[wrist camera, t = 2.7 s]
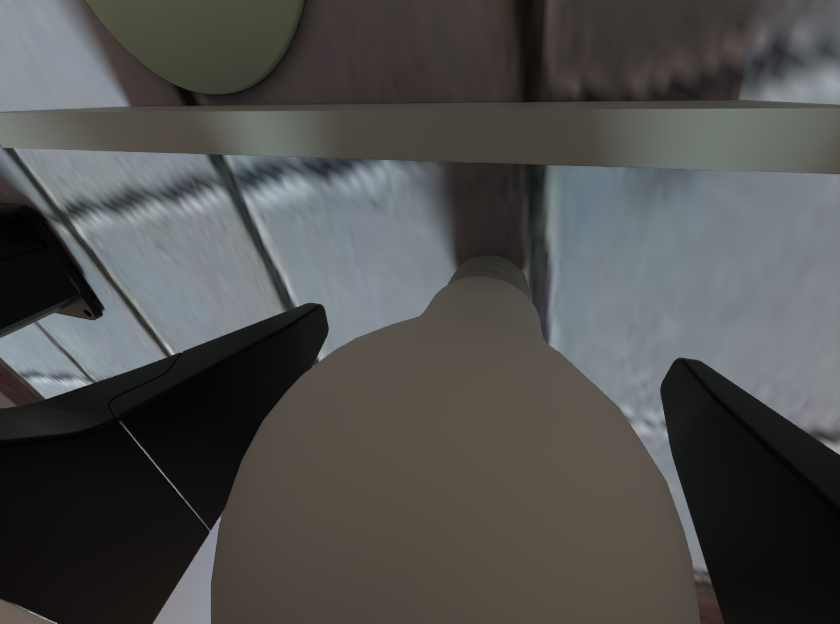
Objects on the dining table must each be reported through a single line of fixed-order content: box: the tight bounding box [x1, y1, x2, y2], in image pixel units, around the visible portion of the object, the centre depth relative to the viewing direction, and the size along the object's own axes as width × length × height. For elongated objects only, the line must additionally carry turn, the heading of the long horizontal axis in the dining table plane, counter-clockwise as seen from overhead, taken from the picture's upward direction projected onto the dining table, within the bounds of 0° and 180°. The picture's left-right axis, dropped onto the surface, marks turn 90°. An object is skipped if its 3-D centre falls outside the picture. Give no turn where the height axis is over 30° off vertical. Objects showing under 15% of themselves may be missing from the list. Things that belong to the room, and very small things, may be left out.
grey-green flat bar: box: [0, 100, 840, 174], centre depth 8 cm, size 18×1×4 cm, turn 91°
